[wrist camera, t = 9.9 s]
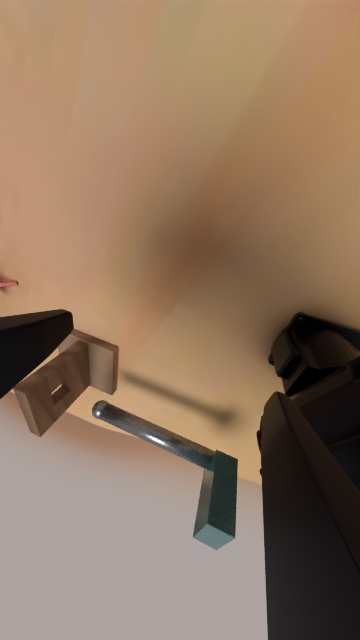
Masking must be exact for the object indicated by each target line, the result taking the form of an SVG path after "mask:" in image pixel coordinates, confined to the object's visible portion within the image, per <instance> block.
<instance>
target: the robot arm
mask: <svg viewBox="0 0 360 640" xmlns="http://www.w3.org/2000/svg"><path fill="white" fill-rule="evenodd" d="M299 317H303V319H301V320H298V318H299ZM73 328H74V326H73V316H72V313H71V312H69V311H66V310H64V309H59V310H51V311H44V312H36V313H29V314H21V315H14V316H6V317H0V399H1V398H2V397H3V396H4V395H6V394H7V393H8V392H9V391H10V390H11V389H12V388H14V387H15V386H16V385H17V384H18V383H19V382H20V381H22V380H23V379H24V378H25V377H26V376H27V375H28V374H30V373H31V372H32V371H33V370H34V369H35V368H36V367H37V366H39V365H40V364H41V363H42V362H43V361H44V360H45V359H46V358H48V357H49V356H50V355H51V354H52V352H53V351H54V350H55V349H56V348H57V347H58V346H59V345H60V344H61V343H62V342H63V341H64V340H65V339H66V338H67V337H68V336H69V335H70V333H71V332H72V331H73ZM272 360H274V361H272ZM268 361H269V363H270V364H271V365H274V366H275V369H276V374H277V376H278V377H280V378H282V382H283V386H284V391H285V394H283V393H281V392H278V391H276V392H274V393H273V394H272V396H271V397H270V398H269V400H268V401H267V402H266V404H265V406H264V414H263V416H262V417H261V423H260V430H258V431H257V440H258V446H259V450H260V453H261V469H260V474H261V476H262V494H263V521H264V546H265V573H266V599H267V624H268V640H360V331H359V330H356V329H353V328H349V327H346V326H343V325H340V324H336V323H333V322H330V321H327V320H324V319H320V318H317V317H314V316H311V315H308V314H304V313H297V314H296V315H295V316H294V318H293V319H292V321H291V322H290V324H289V326H288V327H287V329H285V330H283V331H282V332H281V334H280V335H279V337H278V339H277V340H276V342H275V344H274V345H273V347H272V353H271V354H270V356H269V358H268Z"/></svg>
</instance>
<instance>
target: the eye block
mask: <svg viewBox="0 0 360 640" xmlns="http://www.w3.org/2000/svg"><path fill="white" fill-rule="evenodd" d="M58 349H59V355H58V356H56V357H55V358H54V359H52V360H51V361H49V362H48V363H47V364H45V365H44V366H42V367H41V368H40V369H38V370H37V371H36V372H34V373H33V374H31V375H30V376H29V377H27V378H26V379H24V380H23V381H22V382H20V383H19V384H18V385H16V386H15V387H14V388H13V390H14V392H15V394H16V397H17V399H18V402H19V404H20V407H21V409H22V412H23V414H24V417H25V419H26V422H27V424H28V427H29V429H30V432H32V433H33V434H36V435H38V436H39V437H41V436H42V435H43V434H44V433H45V432H46V431H47V430H48V429H49V428H50V427H51V425H52V424H53V423H54V422H55V421H56V420H57V419H58V418H59V417H60V416H61V415H62V414H63V413H64V412H65V411H66V410H67V409H68V407H69V406H70V405H71V404H72V403H73V402H74V401H75V400H76V399H77V398H78V397H79V396H80V395H81V394H82V393H83V392H84V391H85V389H86V388H87V387H88V386H89V385H90V386H92V387H94V388H97V389H99V390H101V391H103V392H106V393H108V394H110V395H113V393H114V392H115V391H116V383H117V362H118V346H115V345H112V344H110V343H107V342H105V341H102V340H100V339H97V338H95V337H92V336H90V335H87V334H85V333H82V332H80V331H77V330H75V329H73V331H72V332H71V333H70V335H69V336H68V337H67V338H66V339H65V340H64V341H63V342H62V343H61V344H60V345H59V346H58ZM61 384H62V386H61V387H60V388H59V389H58V390H57V391H56V392H54V393H53V394H51V393H52V392H53V391H54V390H55V389H56V388H57V387H58V386H60V385H61Z"/></svg>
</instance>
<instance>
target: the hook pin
mask: <svg viewBox="0 0 360 640" xmlns="http://www.w3.org/2000/svg"><path fill="white" fill-rule="evenodd" d="M92 414H93V416H94V417H95V418H97V419H101V420H103V421H105V422H107V423H109V424H111V425H114V426H116V427H118V428H120V429H122V430H124V431H126V432H128V433H131V434H133V435H135V436H137V437H139V438H141V439H143V440H145V441H147V442H150V443H152V444H154V445H156V446H159V447H160V448H162V449H165V450H167V451H169V452H171V453H173V454H175V455H177V456H179V457H181V458H184V459H186V460H188V461H190V462H192V463H194V464H196V465H198V466H201V467H203V468H204V473H203V479H202V485H201V491H200V497H199V503H198V510H197V515H196V521H195V527H194V534H193V538H195V539H197V540H199V541H201V542H202V543H205V544H206V545H208V546H210V547H212V548H214V549H216V550H217V549H219V548H220V547H222V546H223V545H225V544H227V543H228V542H230V541H232V540H233V539H235V526H236V525H235V524H236V494H237V466H238V459H236V458H234V457H231V456H229V455H227V454H225V453H223V452H220V451H218V450H216V451H213V450H211V449H209V448H207V447H204V446H202V445H200V444H198V443H195V442H193V441H191V440H189V439H187V438H184V437H182V436H180V435H178V434H176V433H173V432H171V431H169V430H167V429H165V428H162V427H160V426H158V425H156V424H153V423H151V422H149V421H147V420H145V419H142V418H140V417H138V416H136V415H134V414H131V413H129V412H127V411H125V410H123V409H120V408H118V407H116V406H114V405H112V404H109V403H108V402H107V401H104V400H101V401H98V402H97V403H95V404H94V406H93V408H92Z"/></svg>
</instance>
